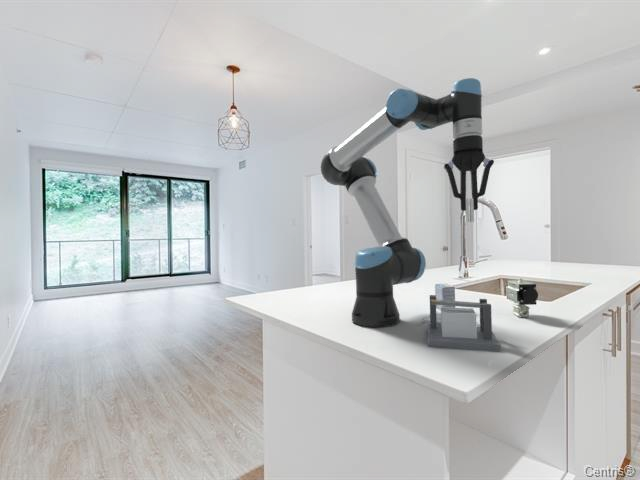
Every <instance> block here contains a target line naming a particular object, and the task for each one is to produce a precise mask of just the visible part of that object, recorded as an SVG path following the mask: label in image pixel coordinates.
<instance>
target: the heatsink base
mask: <svg viewBox="0 0 640 480" xmlns="http://www.w3.org/2000/svg"><path fill="white" fill-rule="evenodd" d="M431 299H435V300H436V295H435V294H429V315H430V324H427V343H428V344H427V345H428V347H433V348H447V349H448V348H449V349H463V350H464V349H465V350H476V351H477V350H480V351H490V352H491V351H493V352H494V351H496V352H501V344H500V341H499V340H498V338H497V337H496V335H495V333H494V332H493V331H492V329H493V328H492V327H493V325H492V321H493V320H492V319H493V318H492V304H491V303H488V299H487V298H479V300H478V301H479V303H481V302H482V301H485V302H486V303H487V304H483V308H479V326H478V324H477V313H476V312H475V309H474V307H456V308H445V307H441V310H440V312H441V325H439V324H437V321H436V311H437V307H436V305H431Z"/></svg>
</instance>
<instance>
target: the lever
mask: <svg viewBox="0 0 640 480" xmlns="http://www.w3.org/2000/svg"><path fill="white" fill-rule="evenodd" d="M483 304H488V302H487V303H486V302H485V301H482V302H481V303H480V302H475V301H474V302H473V301H461V300H460V301H459V300H455V301H447V300H435V299H431V305H447V306H455V307H460V308H477V309H480V308H483Z"/></svg>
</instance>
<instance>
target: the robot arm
mask: <svg viewBox="0 0 640 480" xmlns="http://www.w3.org/2000/svg"><path fill="white" fill-rule="evenodd" d="M482 97H483V94H482V86H481V82H480V80H478V79H476V78H473V77H469V78H468V77H467V78H462V79H459V80H457V81H455V83H453V84H452V86H451V91H450V94H447V95H444V96H442V97H439V98H437V99H436V98H434V97H430V96H427V95H424V94H421V93H419V92H415V91H413V90H411V89H406V88H396V89H394V90H393V91H391V93H390V94H389V96H388V98H386V100H385V101H386V103H385V107H384V108H383V109H382V110H381V111H379V112H378V113H377V114H376V115H375V116H373V117H372V118H371V119H370V120H369V121H367V122H366V123H365V124H364V125H363V126H362V127H360V128H359V129H358V130H356V131H355V132H354V133H353V134H352V135H351V136H350V137H348V138H347V139H346V140H344V142H341V144H340V145H339V146H333V147H332V148H331V149H330V150H328V152H327V153H325V154H324V156H323V158H322V159H321V162H320V172H321V175H322V177H323V178H324V180H325V181H326V182H327V183H329V184H331V185H333V186H343V187H345V189H346V191H347V193H348V194H349V195H350V196H352V197H354V199H355V201H356V202H357V204H358V206H359V208H360V211H361V212H362V213H361V214H362V215H363V216H364V218H365V220H366V222H367V225H368V227H369V230H370V231H371V233H372V235H373V237H374V239H375V241H376V243H377V245H378V246H373V247H366V248H363V249H360V250H358V251H357V252H356V253H355V259H354V260H355V262H354V267H355V270H354V271H355V286H356V287H355V290H356V291H355V292H356V297H355V302H354V305H353V307H352V311H351V322H352V321H353V322H354V323H353V322H352V323H353V324H355V323H356V324H355V325H357V324H359V325H358V326H361V325H363V326H362V327H368V326H370V327H371V328H381V327H382V328H384V327H390V326H394V325H397V324H399V323H400V322H401V321H400V319H401V318H400V312H399V309H398V306H397V303H396V300H395V298H394V286H395V285H400V284H409V283H412V282H415V281H417V280H419V279H421V277H422V276H423V275H424V273H425V269H426V265H427V264H426V257H425V254H424V253H423V251H421V249H419V248H416V247H413V246H412V245H411V243H410V241H409V239H408V238H407V237H403V236H402V234H401V233H400V232H399V230H398V228H397V225H396V224H395V222H394V220H393V218H392V216H391V214H390V212H389V211H388V209H387V207H386V205H385V203H384V201H383V199H382V198H381V196H380V194H379V191H378V189H377V187H376V186H375V185H376V183H377V167H376V165H375V163H374V162H373V161H372V160H371V159H369V158H366V157H365V155H366V154H368V152H371V151H372V150H373V149H374V148H376V147H377V146H379V145H380V144H381V143H383V142H384V141H385V140H387V139H388V138H389V137H391V136H392V135H393V134H395V133H397V131H398V130H399V131H400V129H402V128H403V126H406V125H407V124H408V123H409V122H412V123H414V124H415V126H416V127H418V129H419V130H421V131H425V130H426V131H427V130H433V129H435V128H437V127H439V126H440V127H441V126H443V125H445V124H449V123H452V138H453V139H454V140H453V141H452V145H453V146H452V150H453V153H452V154H453V155H452V158H451V161H448V163H444V166H443V169H444V171H446V173H447V176H448V179H449V183H450V187H451V191H452V195H453V197H454V198H456V199H459V200H460V210H461V211H464V216H465V217H464V222H465V223H474V222H475V213H474V211H476V210H478V209H479V203H478V202H479V200H478V199H479V197H483V196H484V195H485V194H486V189H487V184H488V180H489V176H490V175H489V174H490V171H491V168H492V166H493V165H494V164H495V161H494V159H489V158H487V157H486V155H485V154H484V148H483V147H484V145H483V144H484V143H483V137H482V135H483V117H482ZM482 163H483V167H484V168H483V173H482V177H481V181H480V186H479V190H478V173H477V172H478V169H479V167H480V166H481V165H482ZM454 166H455V168H457V169H456V170H458V171H459V173H460V181H459V183H460V184H459V186H460V187H459V189H460V193H459V190H458V186H457V182H456V178H455V174H454V170H453V169H454ZM467 172H470V184H471V197H472V198H467V182H466V181H467ZM370 327H369V328H370Z"/></svg>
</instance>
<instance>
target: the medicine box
mask: <svg viewBox="0 0 640 480" xmlns="http://www.w3.org/2000/svg"><path fill="white" fill-rule="evenodd" d="M434 285H435V286H434V293H435V294H434V295H436V300H447V301H456V289H455V286H453V285H451V284H448V283H436V284H434ZM441 307H445V308H457V306H447V305H436V309H439V310H440V311H441Z"/></svg>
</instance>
